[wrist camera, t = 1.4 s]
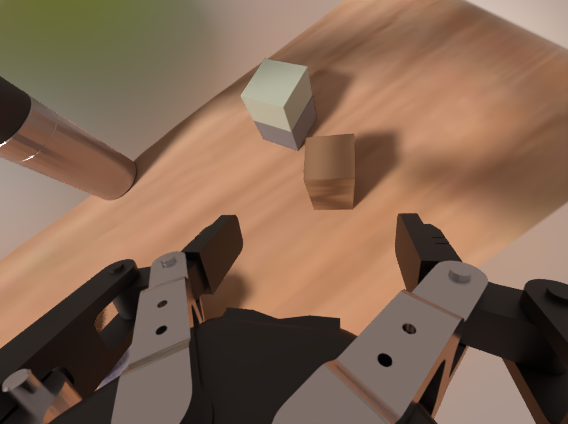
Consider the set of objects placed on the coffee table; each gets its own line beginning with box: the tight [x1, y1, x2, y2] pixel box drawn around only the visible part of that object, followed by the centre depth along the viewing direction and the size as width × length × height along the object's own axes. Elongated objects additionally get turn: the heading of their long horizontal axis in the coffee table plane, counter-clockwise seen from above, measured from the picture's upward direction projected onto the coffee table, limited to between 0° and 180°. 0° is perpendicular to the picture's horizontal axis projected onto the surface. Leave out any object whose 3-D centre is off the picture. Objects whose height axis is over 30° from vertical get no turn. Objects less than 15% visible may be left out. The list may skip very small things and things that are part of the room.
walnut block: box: [304, 134, 355, 210], centre depth 31 cm, size 6×6×10 cm
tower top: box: [241, 59, 312, 132], centre depth 35 cm, size 7×7×5 cm
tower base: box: [254, 95, 317, 151], centre depth 40 cm, size 7×7×5 cm
